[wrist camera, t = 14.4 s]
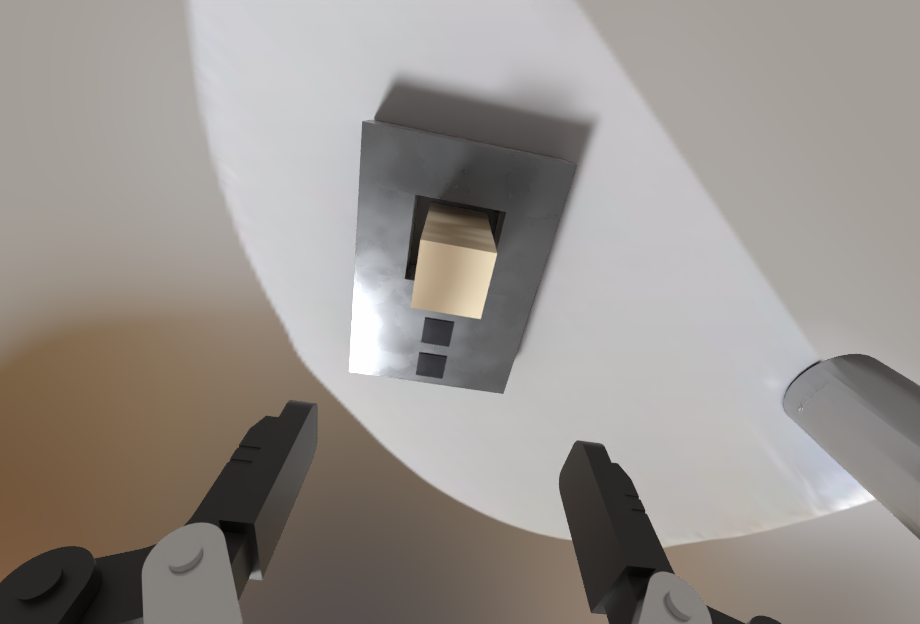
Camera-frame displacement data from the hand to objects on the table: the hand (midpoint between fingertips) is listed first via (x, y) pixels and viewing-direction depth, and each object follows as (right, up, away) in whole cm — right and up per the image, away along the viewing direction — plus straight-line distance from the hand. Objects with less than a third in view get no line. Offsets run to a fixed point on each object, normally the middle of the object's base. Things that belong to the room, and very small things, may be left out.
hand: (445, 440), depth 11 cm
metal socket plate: (-1, +8, +20) cm, 21 cm away
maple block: (0, +10, +18) cm, 21 cm away
